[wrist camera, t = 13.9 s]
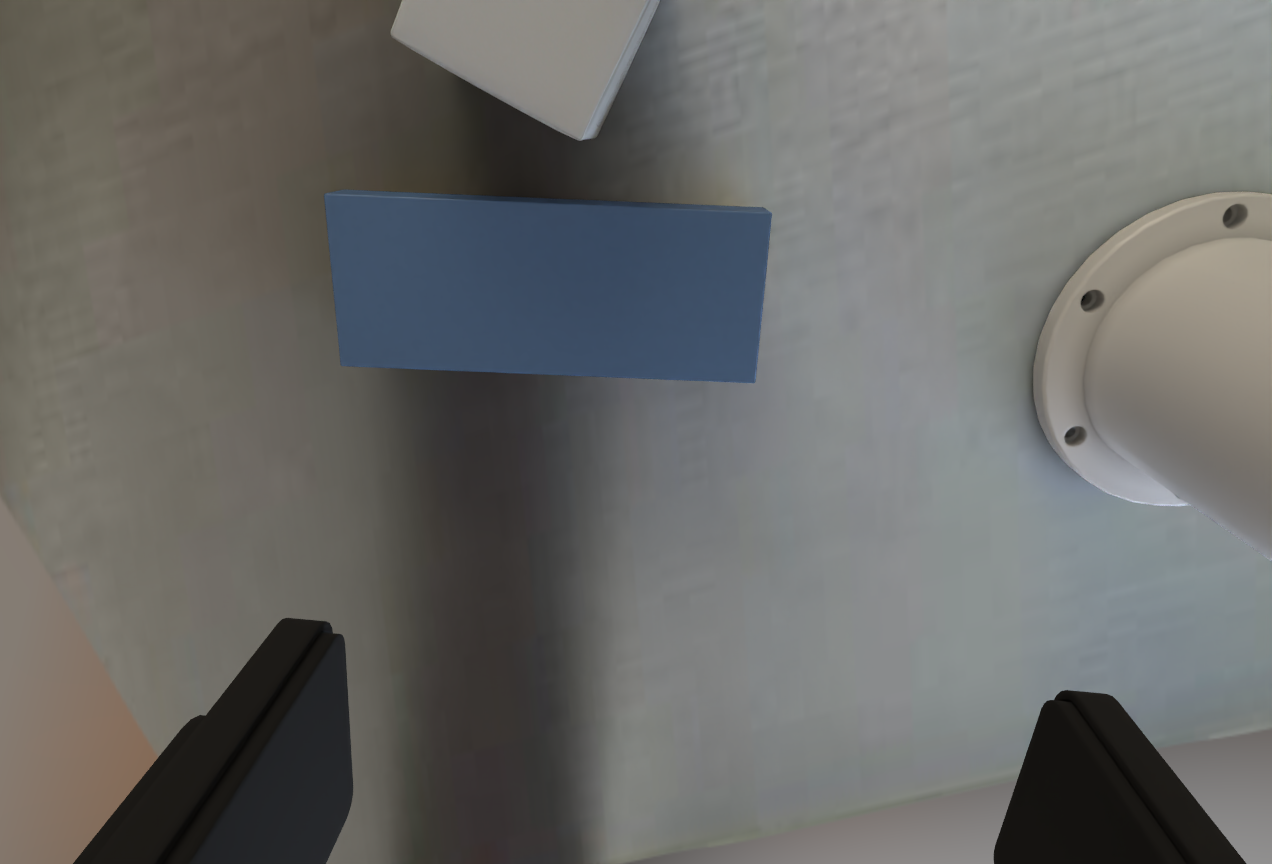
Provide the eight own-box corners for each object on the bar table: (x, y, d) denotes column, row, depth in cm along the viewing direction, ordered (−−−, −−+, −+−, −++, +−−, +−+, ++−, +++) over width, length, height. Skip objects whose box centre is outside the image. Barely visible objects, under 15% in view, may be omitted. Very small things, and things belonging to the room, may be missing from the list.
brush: (757, 202, 30) (772, 212, 26) (743, 355, 32) (755, 383, 28) (361, 185, 30) (323, 193, 26) (373, 340, 32) (340, 366, 28)
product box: (444, 56, 28) (380, 33, 21) (516, -122, 26) (470, -211, 19) (596, 142, 29) (581, 147, 22) (677, -24, 27) (688, -75, 20)
